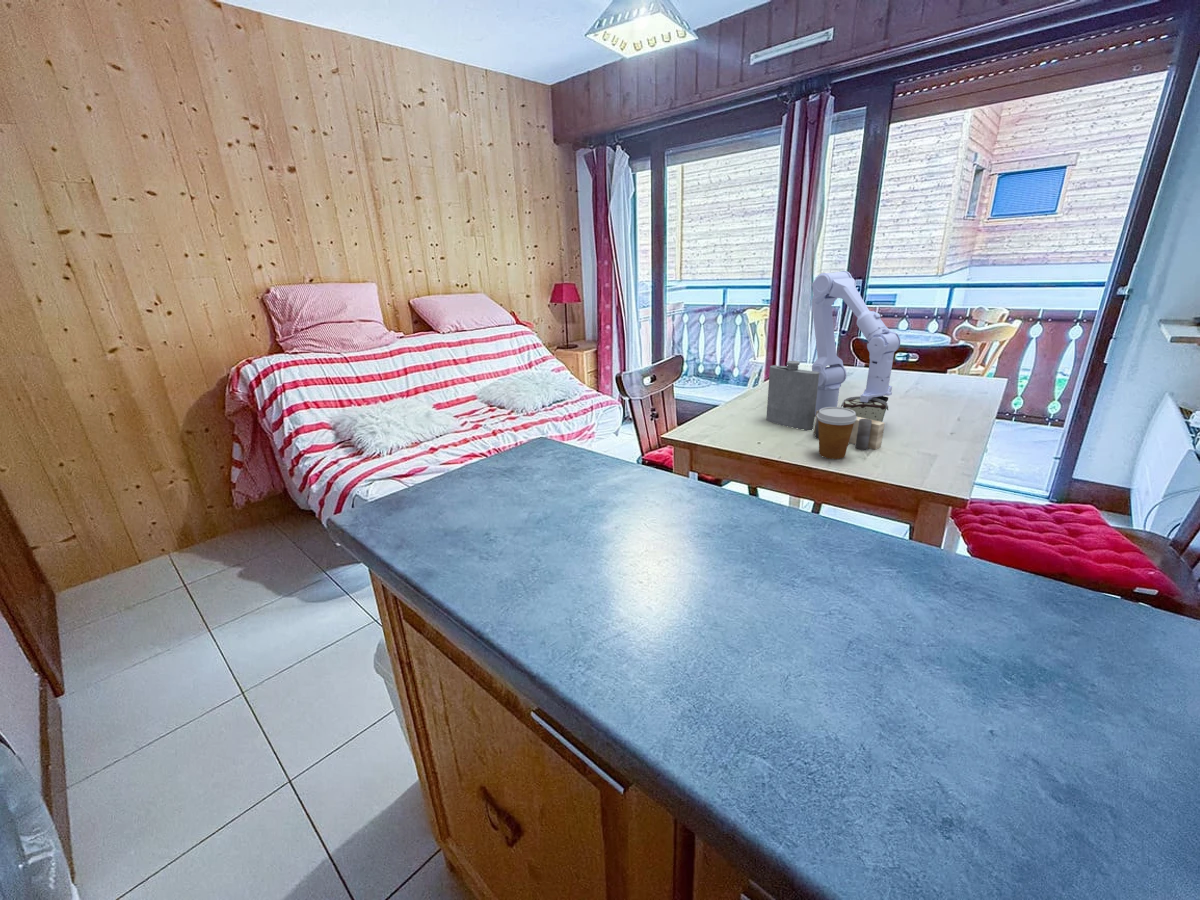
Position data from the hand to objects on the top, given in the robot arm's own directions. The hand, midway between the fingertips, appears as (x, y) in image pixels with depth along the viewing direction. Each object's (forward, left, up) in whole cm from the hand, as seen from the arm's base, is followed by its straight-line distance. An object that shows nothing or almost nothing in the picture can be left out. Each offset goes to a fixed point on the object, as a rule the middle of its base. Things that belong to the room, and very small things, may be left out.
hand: (872, 420), depth 149 cm
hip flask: (-19, -13, -3) cm, 24 cm away
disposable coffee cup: (+3, -26, -3) cm, 27 cm away
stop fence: (0, -15, -2) cm, 16 cm away
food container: (-1, -5, -2) cm, 6 cm away
